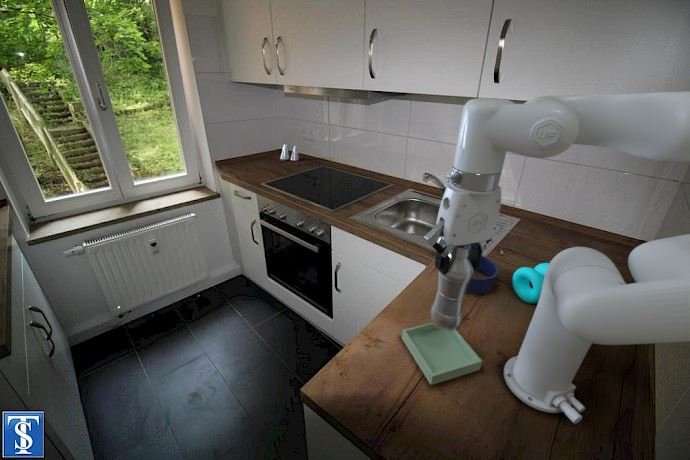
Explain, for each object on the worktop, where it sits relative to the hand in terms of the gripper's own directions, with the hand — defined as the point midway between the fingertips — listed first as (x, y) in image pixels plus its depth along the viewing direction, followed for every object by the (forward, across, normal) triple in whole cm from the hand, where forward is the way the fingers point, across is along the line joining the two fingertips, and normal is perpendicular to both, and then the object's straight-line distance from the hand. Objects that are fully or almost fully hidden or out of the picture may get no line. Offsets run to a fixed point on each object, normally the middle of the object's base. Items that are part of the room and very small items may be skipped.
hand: (456, 266), depth 61 cm
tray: (+24, 0, 0) cm, 24 cm away
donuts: (+24, +37, +9) cm, 45 cm away
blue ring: (+24, +25, +22) cm, 41 cm away
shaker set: (+24, -7, +171) cm, 173 cm away
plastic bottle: (+15, 0, 0) cm, 15 cm away
